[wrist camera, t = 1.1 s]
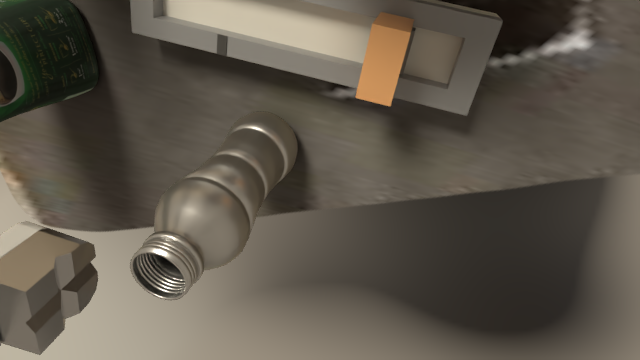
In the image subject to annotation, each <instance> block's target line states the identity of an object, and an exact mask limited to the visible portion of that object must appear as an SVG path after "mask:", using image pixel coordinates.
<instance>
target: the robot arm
mask: <svg viewBox="0 0 640 360" xmlns="http://www.w3.org/2000/svg"><path fill="white" fill-rule="evenodd" d="M95 256H96V255H95V248H94V245H93V244H91V243H89V242H86V241H84V240H81V239H78V238H75V237H72V236H69V235H66V234H64V233H60V232H57V231H55V230H51V229H49V228H45V227H43V226H40V225H37V224H34V223H31V222H28V221H26V222H21V223H17V224H16V225H14V226H13V227H11V228H10V229H8V230H7V231H6V232H4V233H2V234H1V235H0V346H1V343H3V344H6V345H10V346H13V347H16V348H19V349H23V350H26V351H29V352H32V353H35V354H39V355H40V354H42V352H43V351H44V350H45V349H46V348H47V347H48V346H49V345H50V344H51V343H52V342H53V341H54V340H55V339H56V338H57V336H59V334H60V333H61V332H62V331H63V330H64V328H65V319H66V318H69V317H71V316H74V315H76V314H78V313H80V312H81V311H82V310H83V309H84V308H85V307H86V306H87V304H88V303H89V302H90V300H91V298H92V296H93V294H94V293H95V291H96V287H97V282H98V274H97V271H96V269H95V268H94V266H93V265H92V264H91V261H92V260H93V259H94V258H95Z"/></svg>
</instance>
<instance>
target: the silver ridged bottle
mask: <svg viewBox="0 0 640 360" xmlns="http://www.w3.org/2000/svg"><path fill="white" fill-rule="evenodd" d="M297 152H298V144H297V139H296V136H295V134H294V132H293V130H292V129H291V127H290V126H289V125H288V124H287V123H286V122H285V121H284V120H283V119H282V118H280V117H278V116H277V115H275V114H272V113H269V112H264V111H257V112H253V113H250V114H248V115H246V116H244V117H242V118H240V119H238V120H237V121H236V122H235V123H234V124H233V126H232V127H231V129H230V130H229V132H228V134H227V136H226V138H225V140H224V142H223V143H222V145H221V146H220V147H219V149H218V150H217V152H216V153H215V154H214V155H213V156H212V157H211V158H210V159H209V160H207V161H206V162H205V163H204V164H203V165H201V166H200V167H199V168H198V169H196V170H194V171H193V172H191V173H190V174H188V175H187V176H185V177H184V178H182V179H180V180H179V181H177V182H176V183H175V184H173V185H172V186H171V187H170V188H168V189H167V190H166V191H165V192H164V193H163V195H162V196H161V198H160V200H159V203H158V205H157V208H156V211H155V221H154V231H155V233H153V234H152V235H150V236H149V237H148V238H147V239H146V241H145V242H144V243H143V246H142V247H141V248H140V249H139V250H138V251H137V252H136V253H135V254H134V256H133V257H132V259H131V262H130V269H131V272H132V275H133V277H134V278H135V280H136V281H137V283H138V284H139V285H140V286H141V287H142V288H143V289H144V290H146V291H147V292H148V293H150V294H152V295H154V296H156V297H158V298H161V299H165V300H177V299H180V298H181V297H183V296H184V295H185V294H186V293H187V292H188V291H189V289H190V288H191V287H192V285H193V284H194V283H196V282H197V281H198V280H199V278H200V277H201V275H202V274H203V272H204V270H210V269H214V268H218V267H221V266H224V265H226V264H228V263H229V262H231V261H232V260H233V259H235V258H236V257H237V256H238V255H239V254H240V253H241V252H242V251H243V249H244V247H245V245H246V242H247V241H248V239H249V235H250V233H251V230H252V227H253V225H254V221H255V219H256V216H257V213H258V211H259V209H260V207H261V206H262V204H263V202H264V200H265V198H266V196H267V195H268V194H269V192H270V191H271V190H272V189H273V188H274V186H275V185H276V184H277V183H278V182H280V181H281V180H282V179H283V178H284V177H285V176H286V175H287V174H288V173H289V172H290V171H291V170H292V168H293V166H294V164H295V160H296V156H297Z"/></svg>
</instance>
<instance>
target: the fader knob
mask: <svg viewBox="0 0 640 360" xmlns="http://www.w3.org/2000/svg"><path fill="white" fill-rule="evenodd" d="M413 22H414V19H410V18H406V17H402V16H397V15H393V14H388V13H384V12H380V14H379V15H378V16H377V18H376V19H375V21H374V22H373V23H372V27H371V31H370V36H369V40H368V45H367V49H366V53H365V58H364V62H363V66H362V71H361V75H360V79H359V84H358V88H357V92H356V97H355V98H358V99H362V100H366V101H370V102H374V103H378V104H382V105H386V106H391V103H392V99H393V96H394V92H395V88H396V85H397V81H398V78H399V74H402V75H403V73H404V69H405V66H406V62H407V59H408V55H409V52H410V48H411V44H412V41H413V37H414V34H415V30H416V28H414V27H413Z"/></svg>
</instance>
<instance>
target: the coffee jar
mask: <svg viewBox="0 0 640 360" xmlns="http://www.w3.org/2000/svg"><path fill="white" fill-rule="evenodd" d="M98 78H99V70H98V65H97V60H96V57H95V52H94V49H93V46H92V43H91V40H90V37H89V34H88V32H87V29H86V27H85V24H84V22H83V20H82V17H81V16H80V14H79V12H78V10H77V9H76V7H75V6H74V5H73V4H72V3H71V2H70V1H69V0H0V122H2V121H4V120H6V119H9V118H11V117H14V116H16V115H19V114H22V113H25V112H28V111H31V110H34V109H37V108H40V107H43V106H47V105H50V104H53V103H57V102H60V101H63V100H66V99H70V98H73V97H76V96H78V95H81V94H83V93H86V92H88V91H90V90H91V89H93V88H94V87H95V86H96V84H97V81H98Z"/></svg>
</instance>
